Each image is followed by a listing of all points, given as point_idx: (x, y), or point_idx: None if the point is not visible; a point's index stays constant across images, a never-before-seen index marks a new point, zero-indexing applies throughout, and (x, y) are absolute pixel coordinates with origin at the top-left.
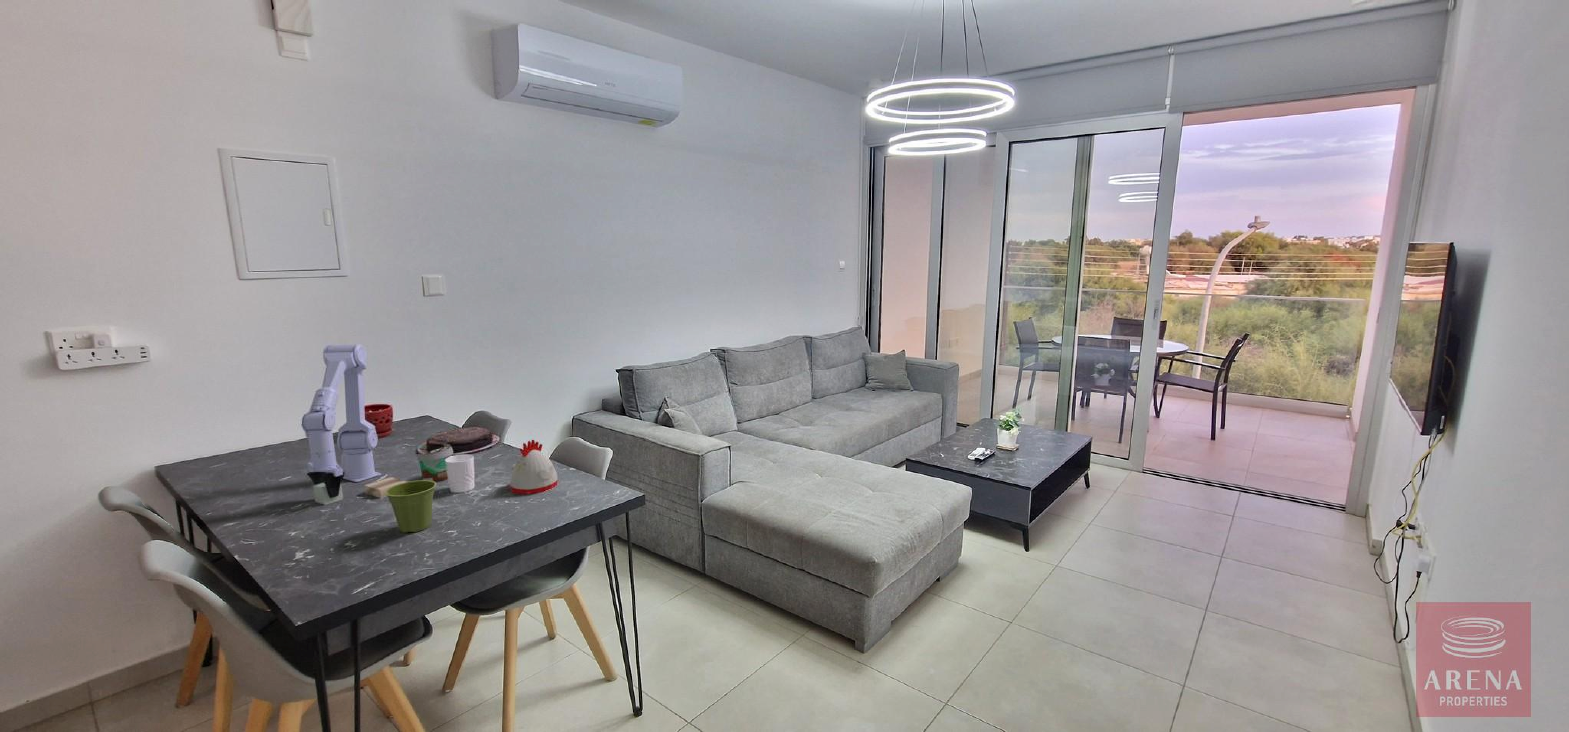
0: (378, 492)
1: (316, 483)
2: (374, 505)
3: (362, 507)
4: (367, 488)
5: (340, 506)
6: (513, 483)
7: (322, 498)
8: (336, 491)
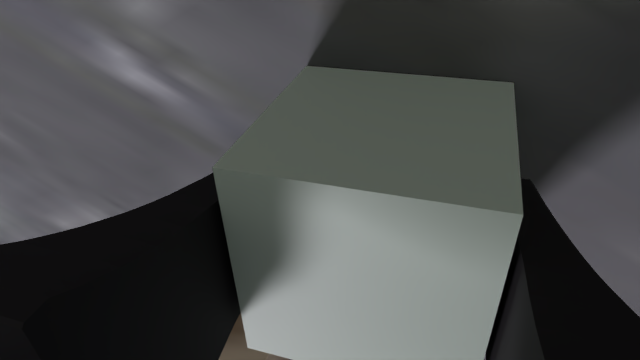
0: None
1: (524, 281)
2: (6, 187)
3: (11, 139)
4: (230, 350)
5: (142, 94)
6: None
7: (317, 96)
8: None
